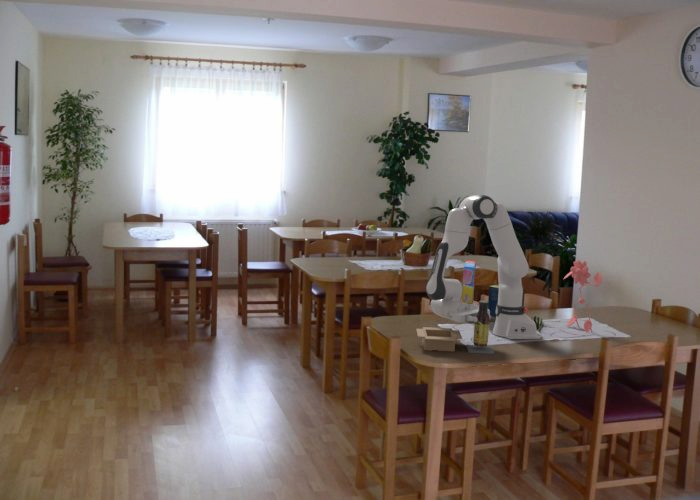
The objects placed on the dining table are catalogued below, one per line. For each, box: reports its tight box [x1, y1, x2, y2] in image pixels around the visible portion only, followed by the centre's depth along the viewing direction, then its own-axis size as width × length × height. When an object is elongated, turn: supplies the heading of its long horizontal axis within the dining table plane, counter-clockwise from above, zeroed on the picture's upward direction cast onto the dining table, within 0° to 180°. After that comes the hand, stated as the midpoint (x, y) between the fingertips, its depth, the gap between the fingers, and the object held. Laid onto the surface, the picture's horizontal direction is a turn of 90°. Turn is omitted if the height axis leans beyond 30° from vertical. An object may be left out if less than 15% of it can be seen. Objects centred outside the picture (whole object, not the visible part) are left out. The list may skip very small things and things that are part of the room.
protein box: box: [487, 283, 526, 318], centre depth 387 cm, size 10×15×16 cm
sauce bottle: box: [472, 299, 491, 347], centre depth 322 cm, size 6×6×20 cm
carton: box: [415, 326, 463, 352], centre depth 326 cm, size 19×19×6 cm
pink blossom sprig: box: [558, 259, 603, 337], centre depth 361 cm, size 15×26×35 cm, turn 26°
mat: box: [465, 343, 496, 355], centre depth 324 cm, size 11×11×1 cm
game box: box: [460, 260, 477, 303], centre depth 385 cm, size 21×6×27 cm, turn 168°
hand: (483, 318), depth 321 cm, fingers open, 6 cm apart
